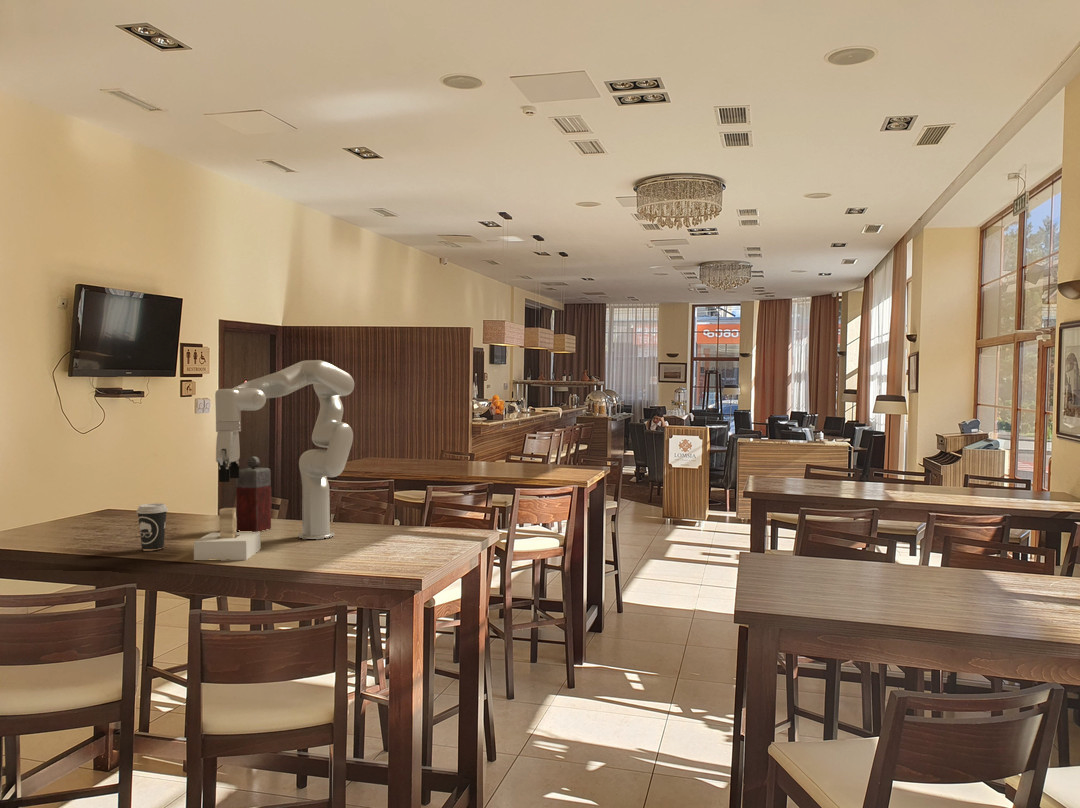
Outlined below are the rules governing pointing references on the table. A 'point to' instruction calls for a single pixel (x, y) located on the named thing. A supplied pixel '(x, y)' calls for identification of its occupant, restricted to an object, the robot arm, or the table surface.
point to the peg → (228, 523)
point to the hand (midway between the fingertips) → (229, 479)
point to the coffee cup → (152, 525)
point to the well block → (227, 546)
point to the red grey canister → (253, 497)
